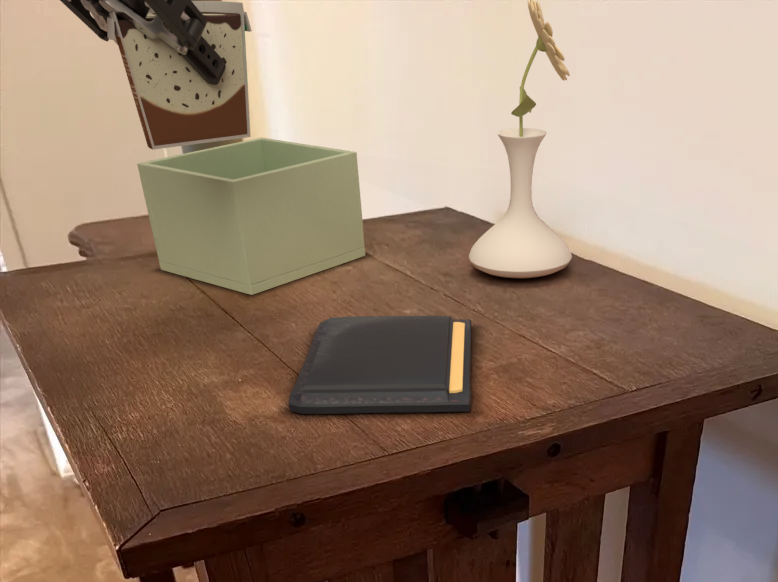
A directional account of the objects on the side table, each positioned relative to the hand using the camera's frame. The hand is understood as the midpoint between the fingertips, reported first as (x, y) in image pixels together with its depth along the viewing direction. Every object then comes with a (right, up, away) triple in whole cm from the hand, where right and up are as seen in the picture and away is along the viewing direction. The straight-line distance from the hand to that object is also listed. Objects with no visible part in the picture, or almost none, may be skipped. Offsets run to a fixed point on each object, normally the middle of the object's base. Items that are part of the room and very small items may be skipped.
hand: (192, 72), depth 80 cm
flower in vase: (+30, -9, +22) cm, 38 cm away
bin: (0, -6, +26) cm, 26 cm away
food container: (-1, -5, +2) cm, 5 cm away
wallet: (+17, -26, 0) cm, 31 cm away
